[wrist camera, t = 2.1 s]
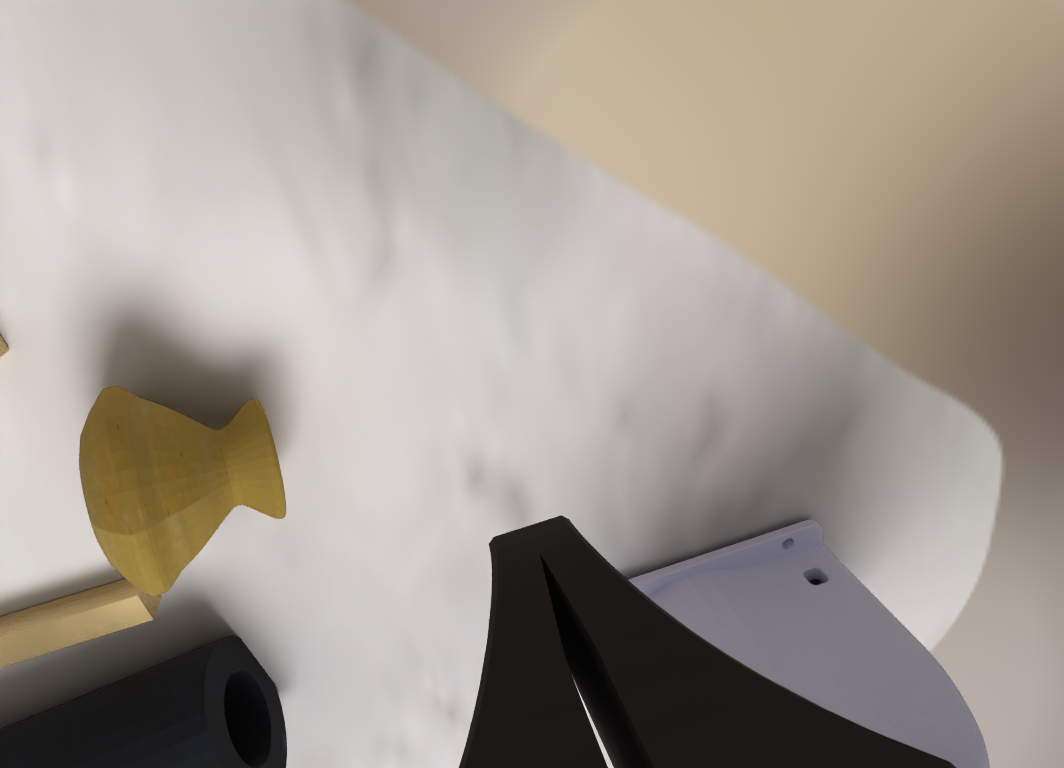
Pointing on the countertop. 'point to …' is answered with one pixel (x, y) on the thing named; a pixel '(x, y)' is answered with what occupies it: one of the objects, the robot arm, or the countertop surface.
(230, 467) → the knob
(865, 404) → the countertop surface
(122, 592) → the u-shaped bracket
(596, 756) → the robot arm
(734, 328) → the countertop surface
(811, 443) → the countertop surface
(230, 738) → the pipe connector
